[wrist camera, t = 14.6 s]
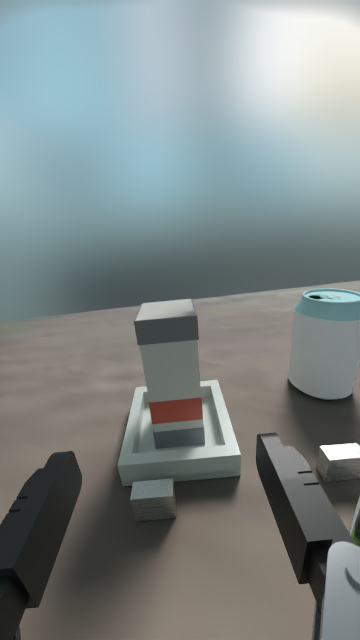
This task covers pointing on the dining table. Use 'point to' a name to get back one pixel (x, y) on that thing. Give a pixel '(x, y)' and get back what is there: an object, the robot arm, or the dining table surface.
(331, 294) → the can
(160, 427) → the marked fuse
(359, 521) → the syrup box
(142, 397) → the tray
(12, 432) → the dining table surface
